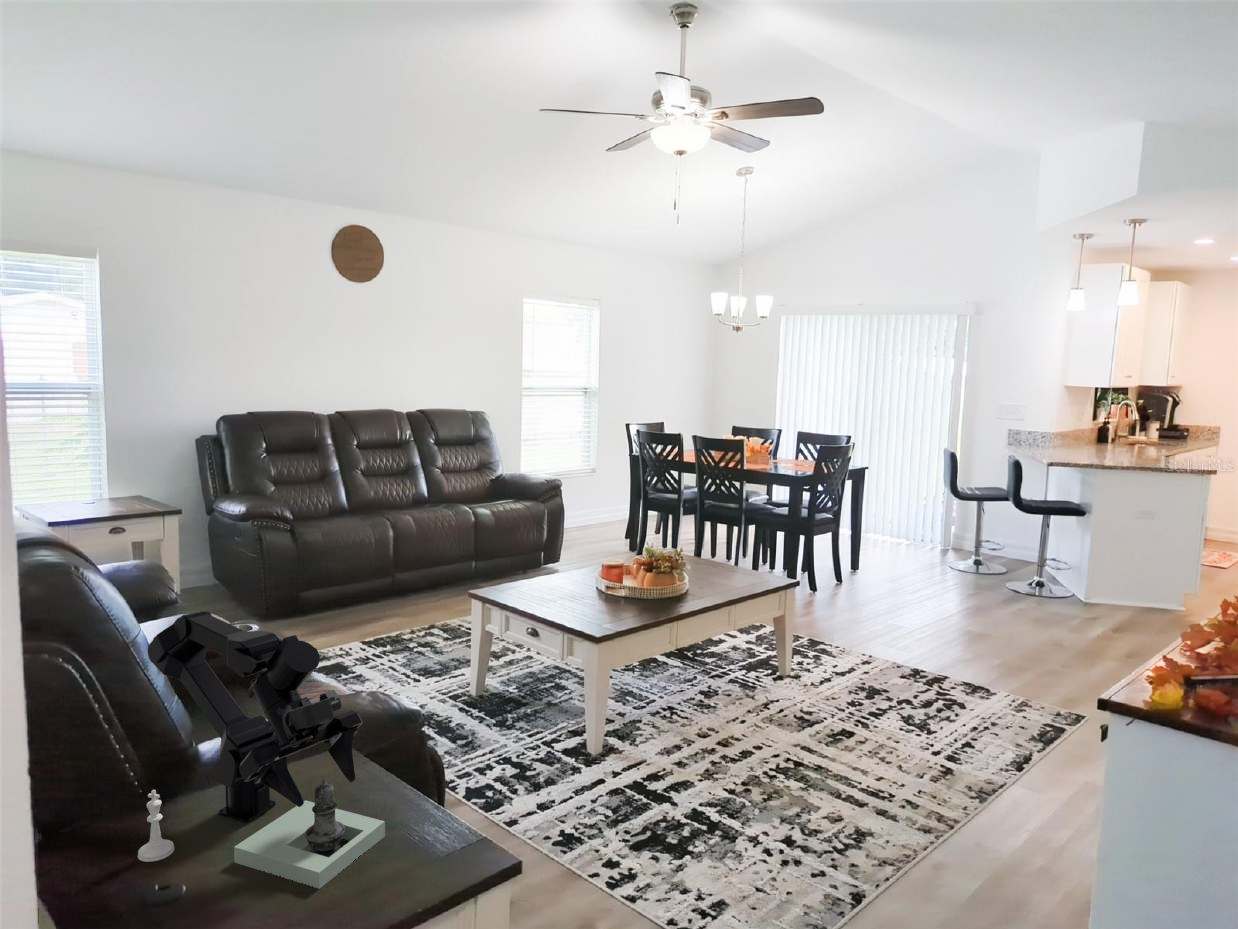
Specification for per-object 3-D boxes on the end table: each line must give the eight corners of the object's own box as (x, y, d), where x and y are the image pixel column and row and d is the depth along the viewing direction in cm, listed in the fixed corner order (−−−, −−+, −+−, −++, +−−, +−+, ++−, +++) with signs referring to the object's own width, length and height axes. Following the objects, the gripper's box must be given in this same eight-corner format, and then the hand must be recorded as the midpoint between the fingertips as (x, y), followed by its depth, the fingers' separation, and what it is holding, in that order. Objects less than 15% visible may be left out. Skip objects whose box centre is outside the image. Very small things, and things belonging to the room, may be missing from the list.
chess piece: (158, 864, 127) (155, 800, 126) (130, 859, 128) (127, 796, 127) (181, 846, 132) (179, 784, 130) (154, 841, 133) (151, 781, 131)
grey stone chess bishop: (352, 852, 131) (351, 778, 129) (317, 868, 127) (315, 792, 125) (333, 837, 135) (332, 766, 133) (298, 852, 130) (296, 778, 129)
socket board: (234, 862, 128) (234, 847, 127) (305, 814, 141) (305, 800, 141) (319, 889, 122) (319, 872, 121) (385, 836, 136) (384, 821, 135)
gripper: (247, 697, 122) (296, 793, 117) (354, 662, 138) (401, 745, 133) (219, 735, 128) (264, 828, 123) (325, 697, 143) (368, 778, 138)
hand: (328, 793), depth 129 cm, fingers open, 9 cm apart
